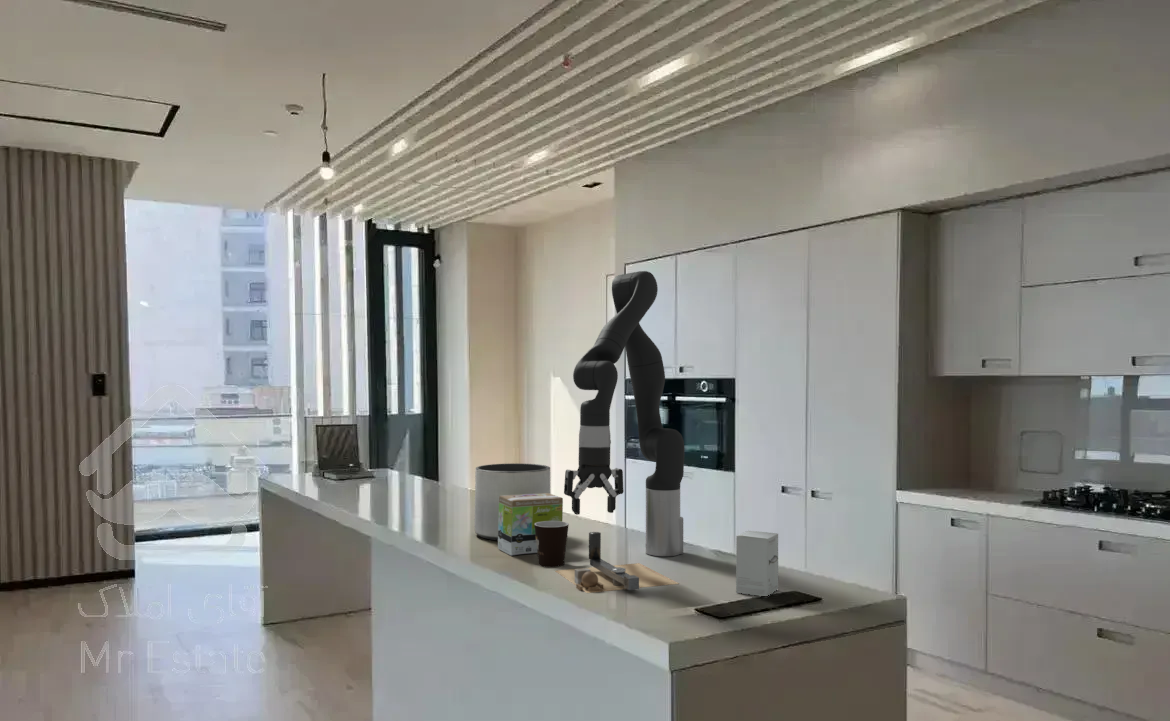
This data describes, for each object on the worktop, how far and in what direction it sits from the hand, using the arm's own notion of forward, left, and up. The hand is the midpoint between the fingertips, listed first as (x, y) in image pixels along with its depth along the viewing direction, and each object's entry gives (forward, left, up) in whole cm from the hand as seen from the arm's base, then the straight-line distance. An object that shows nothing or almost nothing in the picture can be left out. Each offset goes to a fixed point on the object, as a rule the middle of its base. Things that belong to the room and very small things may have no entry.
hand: (593, 513), depth 192 cm
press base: (-2, +8, -15) cm, 17 cm away
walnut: (+7, +15, -13) cm, 21 cm away
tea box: (+6, -32, -15) cm, 36 cm away
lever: (0, +11, -12) cm, 16 cm away
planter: (+4, -54, -15) cm, 57 cm away
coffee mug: (+5, -16, -15) cm, 22 cm away
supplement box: (-28, +26, -15) cm, 41 cm away
